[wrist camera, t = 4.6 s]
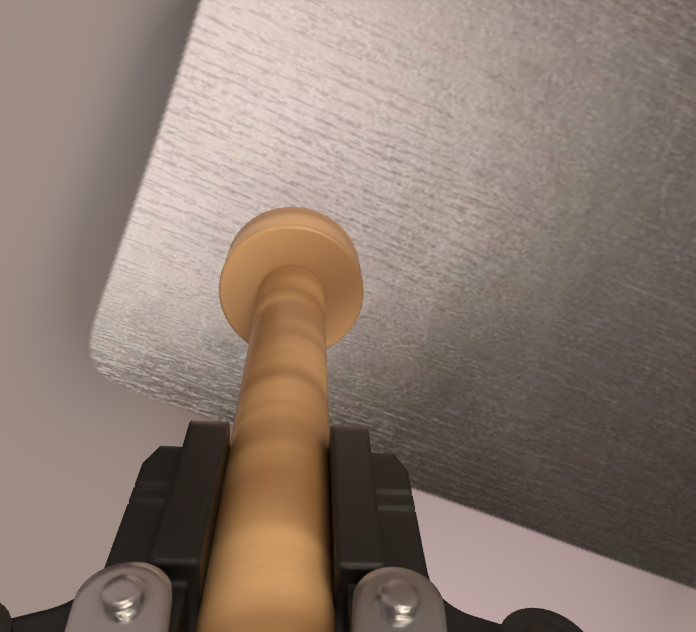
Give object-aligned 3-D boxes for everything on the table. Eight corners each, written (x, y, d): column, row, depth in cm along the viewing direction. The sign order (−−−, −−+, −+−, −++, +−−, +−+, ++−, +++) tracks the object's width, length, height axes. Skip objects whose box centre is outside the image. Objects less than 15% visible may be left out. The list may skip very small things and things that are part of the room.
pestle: (198, 265, 22) (10, 705, 8) (297, 178, 21) (265, 519, 7) (289, 352, 23) (257, 840, 10) (386, 275, 22) (497, 706, 9)
